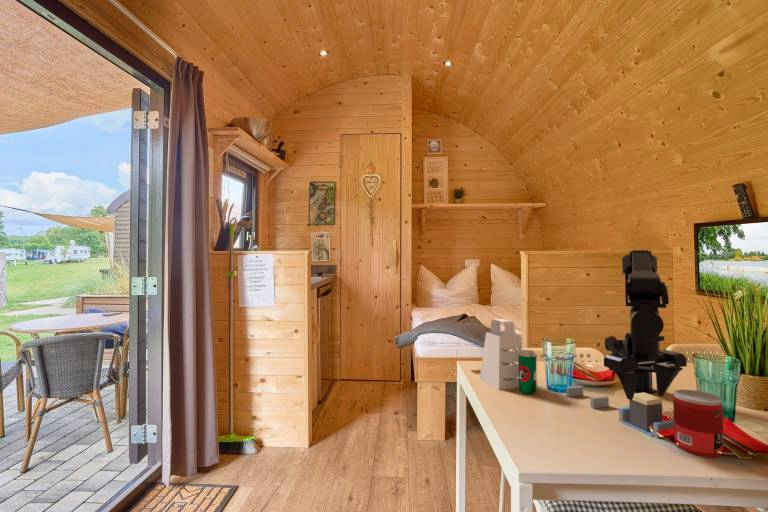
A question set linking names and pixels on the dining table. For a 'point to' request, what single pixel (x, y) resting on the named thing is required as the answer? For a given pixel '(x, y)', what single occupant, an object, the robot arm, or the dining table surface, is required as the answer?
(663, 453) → the dining table surface
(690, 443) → the canned food
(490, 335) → the grater
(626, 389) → the robot arm
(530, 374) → the soda can
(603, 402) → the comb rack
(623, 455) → the dining table surface
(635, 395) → the box with lid
